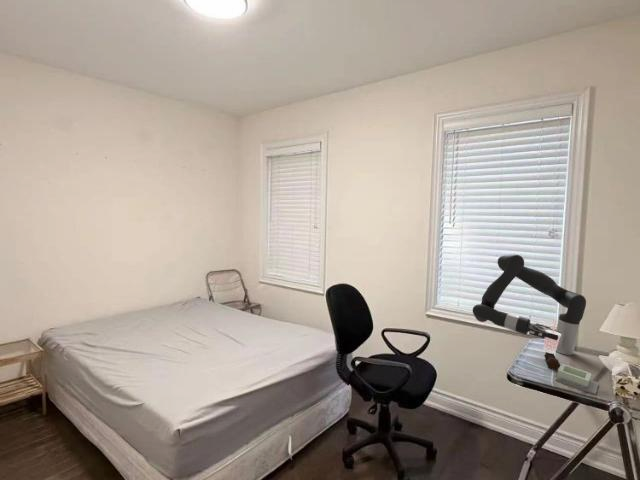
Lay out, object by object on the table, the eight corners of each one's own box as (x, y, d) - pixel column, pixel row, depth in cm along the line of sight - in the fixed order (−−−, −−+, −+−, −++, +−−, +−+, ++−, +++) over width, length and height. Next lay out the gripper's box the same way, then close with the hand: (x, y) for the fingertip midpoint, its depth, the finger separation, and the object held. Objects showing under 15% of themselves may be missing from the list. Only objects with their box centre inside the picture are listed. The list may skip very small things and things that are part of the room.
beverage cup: (560, 354, 151) (567, 324, 149) (549, 354, 150) (555, 324, 148) (548, 348, 157) (555, 319, 155) (537, 348, 156) (543, 318, 154)
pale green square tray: (560, 371, 161) (562, 362, 161) (598, 384, 152) (600, 375, 151) (555, 380, 151) (557, 371, 150) (595, 395, 141) (597, 385, 141)
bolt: (549, 361, 176) (553, 372, 162) (539, 354, 177) (543, 364, 164) (557, 354, 174) (562, 364, 161) (548, 346, 176) (552, 356, 162)
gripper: (514, 319, 156) (558, 331, 145) (522, 313, 167) (563, 325, 155) (511, 334, 157) (554, 348, 146) (519, 328, 168) (560, 340, 156)
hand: (559, 336), depth 151 cm, fingers closed on beverage cup, 6 cm apart
